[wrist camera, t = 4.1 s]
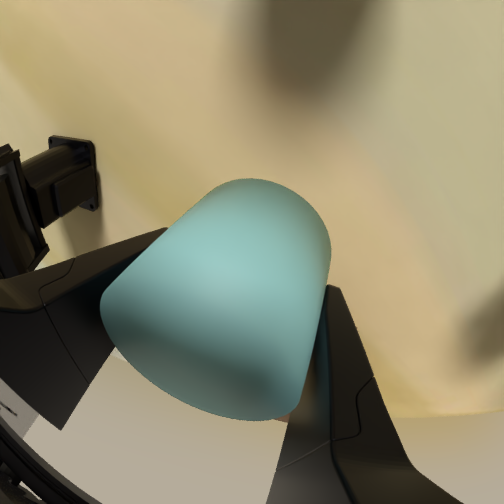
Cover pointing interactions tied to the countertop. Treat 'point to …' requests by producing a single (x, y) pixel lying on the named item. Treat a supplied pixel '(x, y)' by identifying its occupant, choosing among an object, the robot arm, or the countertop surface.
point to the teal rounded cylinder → (227, 301)
